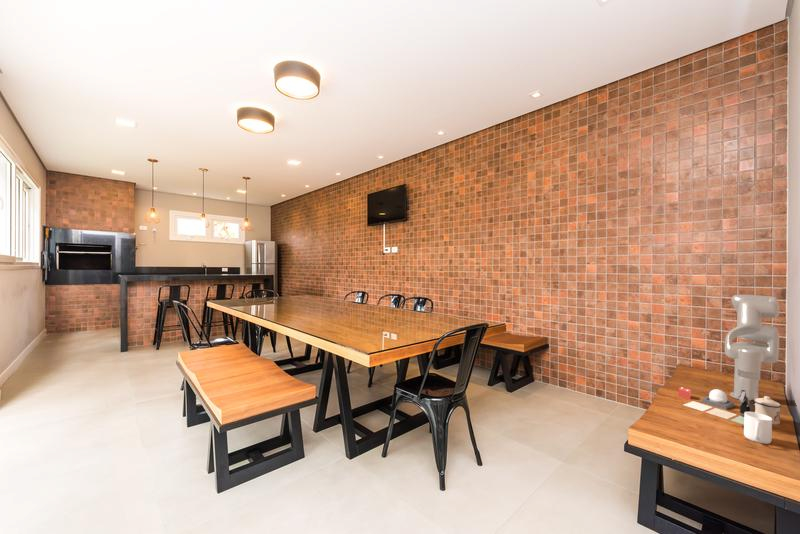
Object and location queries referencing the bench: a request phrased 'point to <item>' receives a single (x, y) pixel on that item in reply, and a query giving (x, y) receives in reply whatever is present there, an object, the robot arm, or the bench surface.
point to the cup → (758, 427)
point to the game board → (715, 411)
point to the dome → (718, 396)
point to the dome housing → (723, 406)
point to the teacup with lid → (768, 408)
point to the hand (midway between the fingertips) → (747, 412)
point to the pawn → (752, 407)
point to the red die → (684, 392)
